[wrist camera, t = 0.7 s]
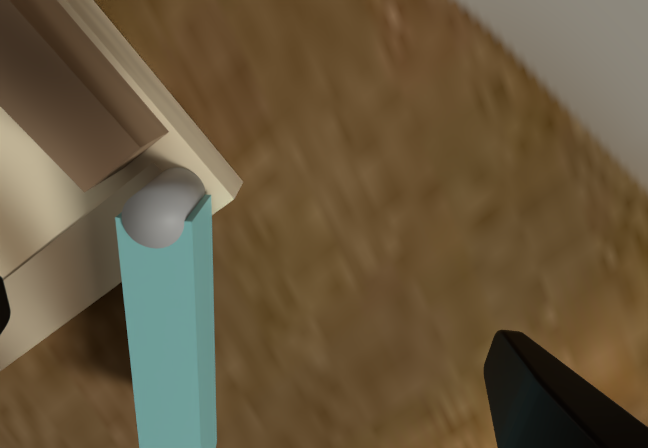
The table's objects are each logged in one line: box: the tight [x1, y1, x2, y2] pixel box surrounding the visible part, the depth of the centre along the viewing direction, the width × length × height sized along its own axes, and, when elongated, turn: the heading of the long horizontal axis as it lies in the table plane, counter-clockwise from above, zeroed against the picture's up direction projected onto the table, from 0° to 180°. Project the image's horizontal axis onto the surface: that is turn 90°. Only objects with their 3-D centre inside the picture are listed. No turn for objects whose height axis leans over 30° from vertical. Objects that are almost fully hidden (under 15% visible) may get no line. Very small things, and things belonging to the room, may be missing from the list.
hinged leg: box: [115, 167, 217, 448], centre depth 18 cm, size 14×2×3 cm, turn 176°
